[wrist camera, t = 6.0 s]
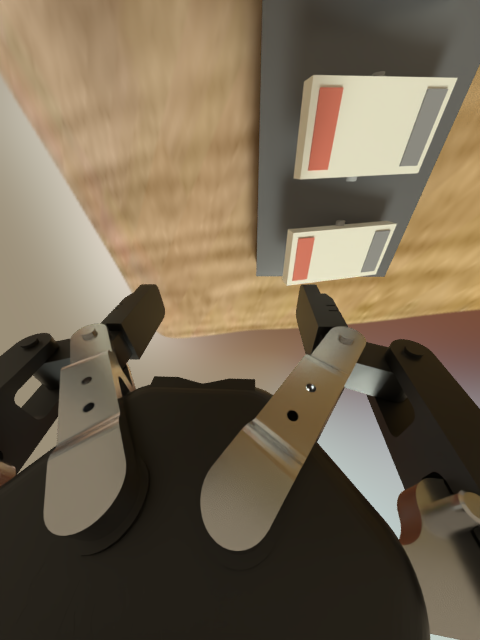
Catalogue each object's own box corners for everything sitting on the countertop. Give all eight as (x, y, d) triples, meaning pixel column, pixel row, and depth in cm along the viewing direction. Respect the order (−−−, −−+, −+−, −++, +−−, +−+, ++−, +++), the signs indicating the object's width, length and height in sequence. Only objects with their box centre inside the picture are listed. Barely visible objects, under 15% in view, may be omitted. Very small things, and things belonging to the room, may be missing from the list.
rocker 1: (439, 76, 11) (463, 67, 10) (400, 177, 14) (417, 179, 13) (303, 73, 10) (315, 64, 9) (291, 183, 13) (300, 185, 12)
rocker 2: (386, 215, 16) (399, 219, 15) (365, 271, 18) (375, 278, 17) (287, 224, 14) (294, 228, 13) (281, 281, 17) (286, 289, 16)
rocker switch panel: (536, -167, 9) (635, -282, 7) (370, 263, 21) (384, 276, 19) (264, -129, 10) (267, -218, 8) (256, 263, 22) (256, 276, 20)
